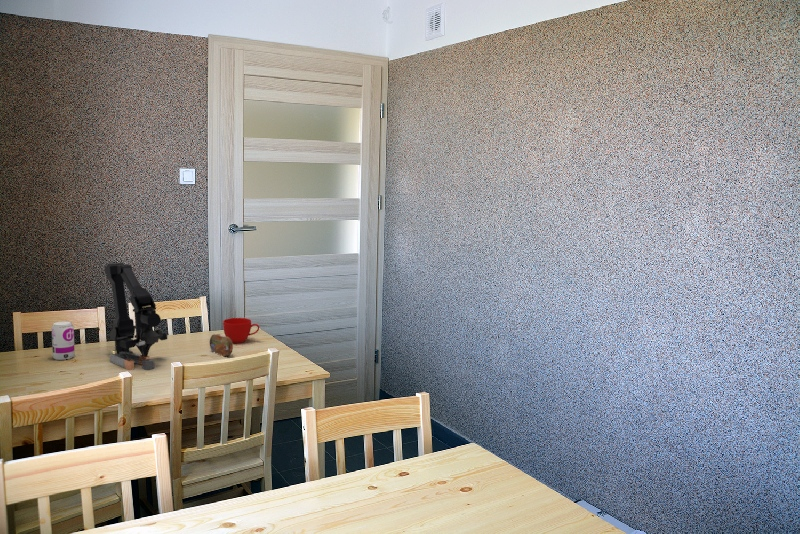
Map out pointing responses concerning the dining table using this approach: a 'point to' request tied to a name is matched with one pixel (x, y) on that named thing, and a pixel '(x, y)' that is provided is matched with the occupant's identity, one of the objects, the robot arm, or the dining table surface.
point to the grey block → (147, 364)
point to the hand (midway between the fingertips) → (145, 359)
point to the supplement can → (63, 340)
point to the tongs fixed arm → (121, 360)
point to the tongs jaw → (134, 357)
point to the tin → (221, 344)
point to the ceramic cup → (238, 329)
